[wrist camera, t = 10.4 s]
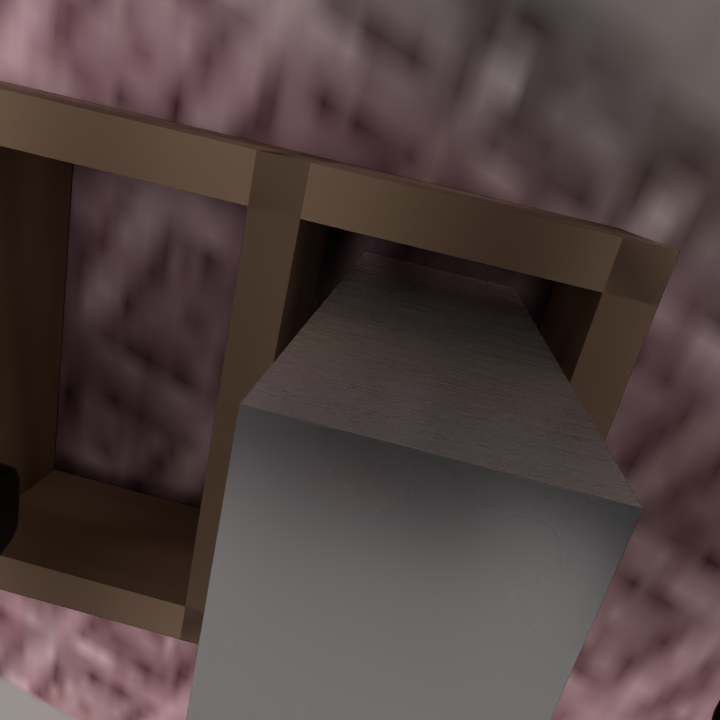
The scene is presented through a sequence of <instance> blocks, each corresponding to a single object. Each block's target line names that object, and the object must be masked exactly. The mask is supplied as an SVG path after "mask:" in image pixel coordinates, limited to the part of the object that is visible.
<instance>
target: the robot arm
mask: <svg viewBox="0 0 720 720" xmlns="http://www.w3.org/2000/svg"><path fill="white" fill-rule="evenodd" d="M19 497H20V474H19V471H18V470H17V469H16V468H15V467H14V466H12V465H8V464H4V463H1V462H0V556H1V554H2V553H3V552H4V550H5V549H6V548H7V546H8V545H9V544H10V542H11V541H12V539H13V537H14V535H15V533H16V530H17V526H18V521H19ZM712 720H720V701H719V702H718V704H717V706H716V708H715V710H714V712H713V716H712Z"/></svg>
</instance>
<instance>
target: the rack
mask: <svg viewBox="0 0 720 720" xmlns="http://www.w3.org/2000/svg"><path fill="white" fill-rule="evenodd" d="M72 163H73V164H77V165H81V166H85V167H89V168H93V169H97V170H102V171H106V172H110V173H114V174H118V175H122V176H126V177H130V178H134V179H139V180H143V181H147V182H151V183H155V184H159V185H163V186H167V187H171V188H175V189H180V190H184V191H188V192H192V193H196V194H200V195H204V196H208V197H212V198H217V199H221V200H225V201H229V202H233V203H237V204H241V205H245V206H248V208H247V215H246V221H245V228H244V234H243V240H242V247H241V253H240V259H239V266H238V272H237V279H236V285H235V291H234V298H233V304H232V310H231V317H230V323H229V330H228V336H227V342H226V349H225V355H224V362H223V368H222V374H221V381H220V387H219V393H218V400H217V406H216V413H215V419H214V425H213V432H212V438H211V444H210V451H209V457H208V464H207V470H206V476H205V483H204V489H203V496H202V502H201V508H200V509H199V508H196V507H192V506H188V505H185V504H181V503H177V502H173V501H170V500H166V499H162V498H158V497H155V496H151V495H147V494H144V493H140V492H136V491H132V490H129V489H125V488H121V487H117V486H114V485H110V484H106V483H103V482H99V481H95V480H91V479H88V478H84V477H80V476H76V475H73V474H69V473H65V472H61V471H58V470H54V456H55V440H56V424H57V407H58V391H59V374H60V358H61V342H62V325H63V309H64V292H65V276H66V259H67V243H68V227H69V210H70V194H71V177H72ZM329 226H331V227H336V228H340V229H344V230H348V231H352V232H356V233H360V234H364V235H368V236H372V237H377V238H381V239H385V240H389V241H393V242H397V243H401V244H405V245H409V246H414V247H418V248H422V249H426V250H430V251H434V252H438V253H442V254H446V255H450V256H455V257H459V258H463V259H467V260H471V261H475V262H479V263H483V264H487V265H491V266H496V267H500V268H504V269H508V270H512V271H516V272H520V273H524V274H528V275H533V276H537V277H541V278H545V279H549V280H553V281H556V282H555V285H554V288H553V291H552V294H551V297H550V300H549V303H548V306H547V309H546V312H545V315H544V318H543V321H542V324H541V327H540V330H539V332H540V334H541V335H542V337H543V339H544V341H545V342H546V344H547V346H548V347H549V349H550V351H551V352H552V354H553V356H554V358H555V359H556V361H557V363H558V364H559V366H560V368H561V370H562V371H563V373H564V375H565V376H566V378H567V380H568V381H569V383H570V385H571V387H572V388H573V390H574V392H575V393H576V395H577V397H578V399H579V400H580V402H581V404H582V405H583V407H584V409H585V410H586V412H587V414H588V416H589V417H590V419H591V421H592V422H593V424H594V426H595V428H596V429H597V431H598V433H599V434H600V436H601V438H602V439H603V441H605V438H606V436H607V433H608V431H609V428H610V426H611V423H612V421H613V418H614V416H615V413H616V411H617V408H618V406H619V403H620V401H621V398H622V396H623V393H624V391H625V388H626V386H627V383H628V380H629V378H630V375H631V373H632V370H633V368H634V365H635V363H636V360H637V358H638V355H639V353H640V350H641V348H642V345H643V343H644V340H645V338H646V335H647V333H648V330H649V328H650V325H651V323H652V320H653V318H654V315H655V313H656V310H657V308H658V305H659V303H660V300H661V298H662V295H663V293H664V290H665V288H666V285H667V283H668V280H669V278H670V275H671V273H672V270H673V268H674V265H675V263H676V260H677V258H678V255H679V253H680V251H678V250H675V249H673V248H670V247H667V246H665V245H662V244H659V243H657V242H654V241H651V240H649V239H646V238H643V237H641V236H638V235H635V234H633V233H630V232H627V231H625V230H622V229H619V228H615V227H611V226H607V225H602V224H598V223H594V222H590V221H586V220H582V219H577V218H573V217H569V216H565V215H561V214H556V213H552V212H548V211H544V210H540V209H535V208H531V207H527V206H523V205H519V204H514V203H510V202H506V201H502V200H498V199H493V198H489V197H485V196H481V195H477V194H473V193H468V192H464V191H460V190H456V189H452V188H447V187H443V186H439V185H435V184H431V183H426V182H422V181H418V180H414V179H410V178H405V177H401V176H397V175H393V174H389V173H384V172H380V171H376V170H372V169H368V168H364V167H359V166H355V165H351V164H347V163H343V162H338V161H334V160H330V159H326V158H322V157H317V156H313V155H309V154H305V153H301V152H296V151H292V150H288V149H284V148H280V147H275V146H271V145H267V144H263V143H259V142H254V141H250V140H246V139H242V138H238V137H234V136H229V135H225V134H221V133H217V132H213V131H208V130H204V129H200V128H196V127H192V126H187V125H183V124H179V123H175V122H171V121H166V120H162V119H158V118H154V117H150V116H145V115H141V114H137V113H133V112H129V111H125V110H120V109H116V108H112V107H108V106H104V105H99V104H95V103H91V102H87V101H83V100H78V99H74V98H70V97H66V96H62V95H57V94H53V93H49V92H45V91H41V90H36V89H32V88H28V87H24V86H20V85H16V84H11V83H7V82H3V81H0V462H1V463H4V464H8V465H12V466H14V467H15V468H16V469H17V470H18V471H19V474H20V497H19V521H18V526H17V530H16V533H15V535H14V537H13V539H12V541H11V542H10V544H9V545H8V546H7V548H6V549H5V550H4V552H3V553H2V554H1V556H0V589H1V590H5V591H8V592H12V593H16V594H19V595H23V596H26V597H30V598H34V599H37V600H41V601H44V602H48V603H52V604H55V605H59V606H62V607H66V608H69V609H73V610H77V611H80V612H84V613H87V614H91V615H95V616H98V617H102V618H105V619H109V620H112V621H116V622H120V623H123V624H127V625H130V626H134V627H138V628H141V629H145V630H148V631H152V632H156V633H159V634H163V635H166V636H170V637H173V638H177V639H181V640H184V641H188V642H191V643H195V644H199V640H200V634H201V628H202V623H203V617H204V611H205V605H206V599H207V593H208V587H209V581H210V575H211V569H212V564H213V558H214V552H215V546H216V540H217V534H218V528H219V522H220V516H221V510H222V505H223V499H224V493H225V487H226V481H227V475H228V469H229V463H230V457H231V451H232V446H233V440H234V434H235V428H236V422H237V416H238V410H239V404H240V403H241V402H242V401H243V399H244V398H245V397H246V396H247V394H248V393H249V392H250V391H251V390H252V388H253V387H254V386H255V385H256V384H257V382H258V381H259V380H260V379H261V377H262V376H263V375H264V374H265V373H266V371H267V370H268V369H269V368H270V367H271V365H272V364H273V363H274V362H275V360H276V359H277V358H278V357H279V356H280V354H281V353H282V352H283V351H284V350H285V348H286V347H287V346H288V345H289V343H290V342H291V341H292V340H293V339H294V337H295V336H296V335H297V334H298V333H299V331H300V330H301V329H302V328H303V326H304V325H305V324H306V323H307V322H308V320H309V319H310V318H311V314H312V309H313V304H314V299H315V294H316V289H317V284H318V279H319V274H320V270H321V265H322V260H323V255H324V250H325V245H326V240H327V235H328V230H329Z"/></svg>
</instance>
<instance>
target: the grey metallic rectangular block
mask: <svg viewBox="0 0 720 720" xmlns="http://www.w3.org/2000/svg"><path fill="white" fill-rule="evenodd" d="M642 510H643V508H642V506H641V504H640V503H639V501H638V499H637V497H636V496H635V494H634V492H633V491H632V489H631V487H630V485H629V484H628V482H627V480H626V479H625V477H624V475H623V474H622V472H621V470H620V468H619V467H618V465H617V463H616V462H615V460H614V458H613V456H612V455H611V453H610V451H609V450H608V448H607V446H606V445H605V443H604V441H603V439H602V438H601V436H600V434H599V433H598V431H597V429H596V428H595V426H594V424H593V422H592V421H591V419H590V417H589V416H588V414H587V412H586V410H585V409H584V407H583V405H582V404H581V402H580V400H579V399H578V397H577V395H576V393H575V392H574V390H573V388H572V387H571V385H570V383H569V381H568V380H567V378H566V376H565V375H564V373H563V371H562V370H561V368H560V366H559V364H558V363H557V361H556V359H555V358H554V356H553V354H552V352H551V351H550V349H549V347H548V346H547V344H546V342H545V341H544V339H543V337H542V335H541V334H540V332H539V330H538V329H537V327H536V325H535V324H534V322H533V320H532V318H531V317H530V315H529V313H528V312H527V310H526V308H525V306H524V305H523V303H522V301H521V300H520V298H519V296H518V295H517V293H516V291H515V289H514V288H511V287H506V286H502V285H498V284H494V283H490V282H486V281H482V280H478V279H474V278H469V277H465V276H461V275H457V274H453V273H449V272H445V271H441V270H437V269H433V268H428V267H424V266H420V265H416V264H412V263H408V262H404V261H400V260H396V259H392V258H387V257H383V256H379V255H375V254H371V253H367V252H364V254H363V255H362V256H361V257H360V258H359V260H358V261H357V262H356V263H355V265H354V266H353V267H352V268H351V269H350V271H349V272H348V273H347V274H346V275H345V277H344V278H343V279H342V280H341V282H340V283H339V284H338V285H337V286H336V288H335V289H334V290H333V291H332V292H331V294H330V295H329V296H328V297H327V299H326V300H325V301H324V302H323V303H322V305H321V306H320V307H319V308H318V309H317V311H316V312H315V313H314V314H313V316H312V317H311V318H310V319H309V320H308V322H307V323H306V324H305V325H304V326H303V328H302V329H301V330H300V331H299V333H298V334H297V335H296V336H295V337H294V339H293V340H292V341H291V342H290V343H289V345H288V346H287V347H286V348H285V350H284V351H283V352H282V353H281V354H280V356H279V357H278V358H277V359H276V360H275V362H274V363H273V364H272V365H271V367H270V368H269V369H268V370H267V371H266V373H265V374H264V375H263V376H262V377H261V379H260V380H259V381H258V382H257V384H256V385H255V386H254V387H253V388H252V390H251V391H250V392H249V393H248V394H247V396H246V397H245V398H244V399H243V401H242V402H241V403H240V404H239V410H238V416H237V422H236V428H235V434H234V440H233V446H232V451H231V457H230V463H229V469H228V475H227V481H226V487H225V493H224V499H223V505H222V510H221V516H220V522H219V528H218V534H217V540H216V546H215V552H214V558H213V564H212V569H211V575H210V581H209V587H208V593H207V599H206V605H205V611H204V617H203V623H202V628H201V634H200V640H199V646H198V652H197V658H196V664H195V670H194V676H193V682H192V688H191V693H190V699H189V705H188V711H187V717H186V720H550V719H551V717H552V715H553V712H554V710H555V708H556V705H557V703H558V701H559V699H560V696H561V694H562V692H563V689H564V687H565V685H566V683H567V680H568V678H569V676H570V674H571V671H572V669H573V667H574V664H575V662H576V660H577V658H578V655H579V653H580V651H581V648H582V646H583V644H584V642H585V639H586V637H587V635H588V633H589V630H590V628H591V626H592V623H593V621H594V619H595V617H596V614H597V612H598V610H599V607H600V605H601V603H602V601H603V598H604V596H605V594H606V592H607V589H608V587H609V585H610V582H611V580H612V578H613V576H614V573H615V571H616V569H617V566H618V564H619V562H620V560H621V557H622V555H623V553H624V551H625V548H626V546H627V544H628V541H629V539H630V537H631V535H632V532H633V530H634V528H635V525H636V523H637V521H638V519H639V516H640V514H641V512H642Z"/></svg>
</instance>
